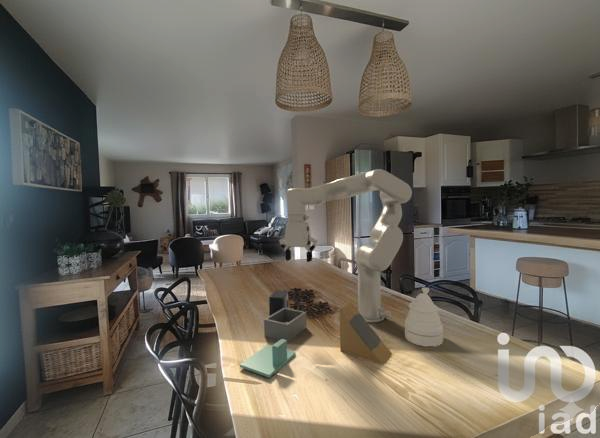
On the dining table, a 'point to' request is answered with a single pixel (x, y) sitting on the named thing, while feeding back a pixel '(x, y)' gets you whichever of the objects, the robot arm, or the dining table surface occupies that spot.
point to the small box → (278, 301)
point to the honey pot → (423, 322)
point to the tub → (282, 330)
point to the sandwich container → (360, 337)
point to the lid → (269, 359)
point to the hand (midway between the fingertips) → (298, 260)
